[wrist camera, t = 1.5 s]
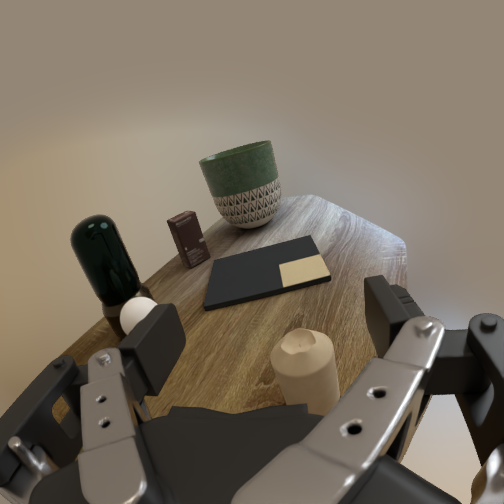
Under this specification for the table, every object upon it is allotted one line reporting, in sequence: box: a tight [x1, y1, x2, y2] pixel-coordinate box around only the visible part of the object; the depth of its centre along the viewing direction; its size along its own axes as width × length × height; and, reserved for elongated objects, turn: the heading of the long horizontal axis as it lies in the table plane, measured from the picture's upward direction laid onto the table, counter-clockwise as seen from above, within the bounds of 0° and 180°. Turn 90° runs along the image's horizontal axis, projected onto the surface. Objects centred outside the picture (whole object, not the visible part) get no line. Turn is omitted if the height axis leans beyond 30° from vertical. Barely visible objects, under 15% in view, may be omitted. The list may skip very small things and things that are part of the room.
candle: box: [271, 328, 340, 416], centre depth 26 cm, size 6×6×10 cm
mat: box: [203, 235, 331, 311], centre depth 57 cm, size 22×18×1 cm
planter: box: [199, 141, 281, 229], centre depth 78 cm, size 20×20×21 cm
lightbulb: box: [120, 297, 158, 335], centre depth 38 cm, size 6×6×11 cm
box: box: [167, 211, 210, 268], centre depth 68 cm, size 6×4×12 cm
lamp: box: [70, 215, 155, 339], centre depth 46 cm, size 10×10×22 cm
